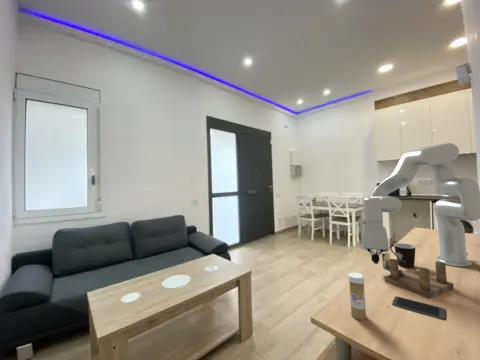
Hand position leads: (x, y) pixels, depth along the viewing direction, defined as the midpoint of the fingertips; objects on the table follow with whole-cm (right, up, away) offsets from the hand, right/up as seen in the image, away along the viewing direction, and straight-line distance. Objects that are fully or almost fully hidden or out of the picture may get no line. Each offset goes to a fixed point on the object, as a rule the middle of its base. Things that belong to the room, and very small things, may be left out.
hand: (375, 262), depth 102 cm
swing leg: (+5, -2, -5) cm, 7 cm away
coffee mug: (+19, -4, +7) cm, 21 cm away
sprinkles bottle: (-25, -6, -30) cm, 40 cm away
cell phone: (-3, -5, -28) cm, 28 cm away
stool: (+9, -4, -13) cm, 16 cm away
